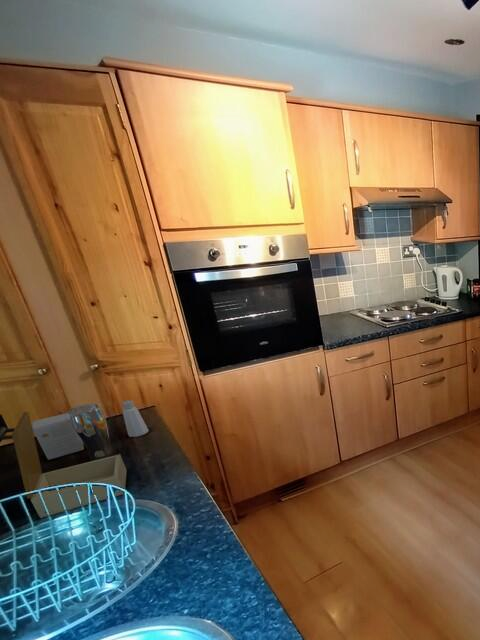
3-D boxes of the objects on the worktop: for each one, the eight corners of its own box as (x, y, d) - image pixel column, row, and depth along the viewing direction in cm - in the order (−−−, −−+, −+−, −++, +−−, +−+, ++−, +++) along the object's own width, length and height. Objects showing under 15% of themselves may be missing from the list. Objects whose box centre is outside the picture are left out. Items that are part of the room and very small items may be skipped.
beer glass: (89, 464, 126) (68, 417, 120) (85, 455, 130) (64, 409, 124) (121, 454, 131) (102, 408, 124) (115, 446, 135) (97, 401, 129)
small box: (83, 442, 136) (69, 412, 132) (84, 450, 133) (70, 418, 129) (46, 452, 131) (31, 421, 127) (47, 460, 128) (31, 428, 123)
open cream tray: (126, 470, 123) (120, 454, 121) (124, 493, 114) (117, 476, 112) (49, 491, 115) (40, 474, 113) (40, 518, 106) (30, 500, 103)
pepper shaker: (151, 427, 145) (140, 396, 141) (146, 435, 141) (134, 403, 136) (130, 430, 143) (118, 399, 139) (125, 438, 139) (112, 406, 134)
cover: (28, 412, 108) (-3, 414, 105) (16, 433, 98) (-18, 437, 95) (42, 472, 113) (12, 476, 110) (32, 498, 103) (0, 503, 100)
